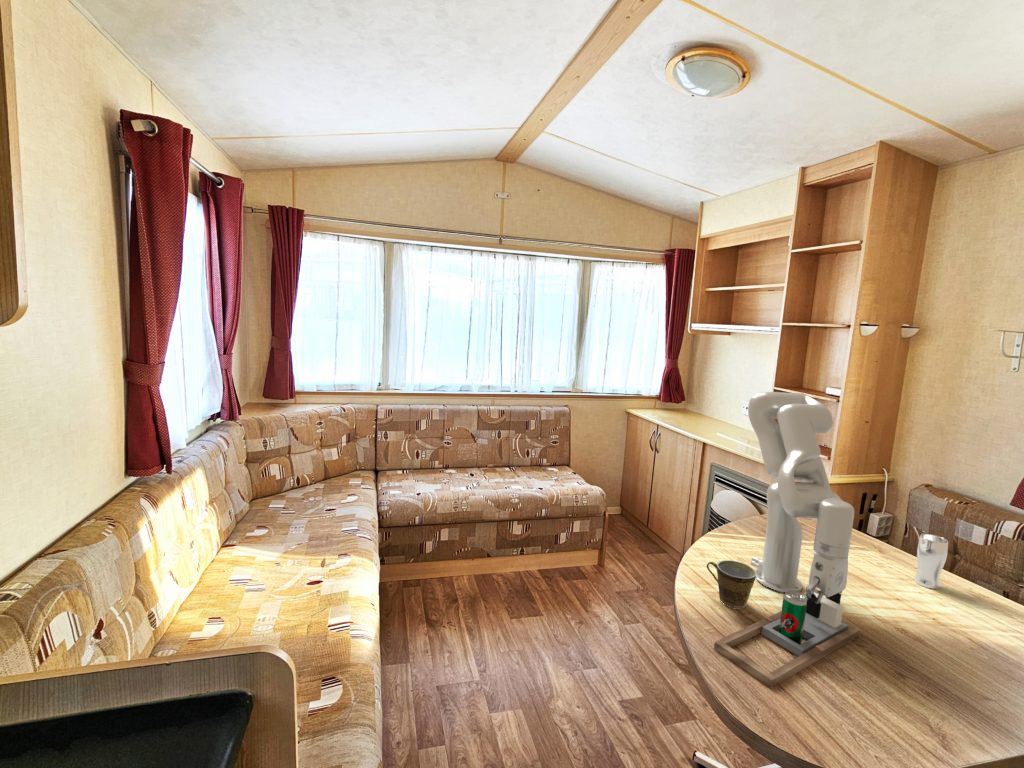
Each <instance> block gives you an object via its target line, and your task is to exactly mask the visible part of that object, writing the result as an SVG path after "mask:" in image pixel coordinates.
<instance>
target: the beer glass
mask: <svg viewBox="0 0 1024 768" xmlns="http://www.w3.org/2000/svg"><path fill="white" fill-rule="evenodd" d="M948 550H949V541H948V539H946V538H944V537H941V536H939V535H936V534H930V533H921V534H920V536H919V540H918V545H917V551H916V555H917V556H916V557H917V559H916V561H917V572H916V574H915V576H914V579H913V580H914V581H913V582H915V583H916V584H918V585H919V586H921V585H922V587H923V586H924V588H926V587H927V588H926V589H930V588H931V589H932V590H939V589H940V588H941V587H940V585H941V584H940V576H941V573H942V570H943V568H944V566H945V564H946V561H947V557H948V552H949V551H948Z"/></svg>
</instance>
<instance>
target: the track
mask: <svg viewBox="0 0 1024 768" xmlns="http://www.w3.org/2000/svg"><path fill="white" fill-rule="evenodd" d="M781 611H782V610H781ZM781 611H778V612H776V613H774V614H772V615H769V616H766V617H764V618H763V619H761V620H758V621H756V622H754V623H752V624H750V625H747V626H745V627H744V628H741V629H739V630H737V631H735V632H733V633H731V634H728V635H726V636H724V637H721V638H720V639H717V640H716V641H714V644H713V645H714V646H713V649H714V650H715V651H717V652H719V653H720V654H722V656H724V657H726V658H727V659H728V660H730V661H731V662H733V663H734V664H735V665H736V666H738V667H740V668H741V669H743V670H744V671H746V672H747V673H749V674H750V675H752V677H754V678H756V679H757V680H759V681H760V682H762V683H763V684H764V685H766V686H767V687H769V688H773V687H775V686H777V685H779V684H781V683H782V682H784V681H786V680H788V679H789V678H791V677H792V676H794V675H795V674H797V673H799V672H801V671H802V670H804V669H806V668H807V667H809V666H812V665H813V664H814V663H816V662H818V661H819V660H822V659H823V658H824V657H826V656H829V655H830V654H831V653H833V652H835V651H836V650H838V649H840V648H842V647H843V646H845V645H846V644H848V643H850V642H851V641H853V640H855V639H857V638H858V637H859V633H860V630H859V629H858V628H856V627H854V626H850V627H848V629H847V630H845V631H843V632H842V633H840V634H838V635H836V636H834V637H833V638H831V639H829V640H827V641H826V642H824V643H822V644H820V645H817V646H815V648H813V649H811V650H810V651H808V652H806V653H804V654H802V655H801V656H797V657H795V658H794V659H792V660H790V661H788V662H787V663H785V664H783V665H781V666H779V667H778V668H776V669H773V670H772V671H771V672H769V671H767V670H766V669H764V668H762V667H761V666H759V665H758V664H756V663H755V662H754V661H752V660H750V659H749V658H747V657H745V656H744V655H743V654H741V653H740V652H738V651H737V650H735V649H734V648H732V647H734V646H737V645H738V644H740V643H741V644H742V643H743V642H745V641H747V640H748V639H751V638H753V637H755V636H757V635H759V634H761V633H762V626H765V625H767V624H769V623H771V622H773V621H775V620H777V619H779V618H781Z"/></svg>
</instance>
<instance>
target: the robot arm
mask: <svg viewBox="0 0 1024 768" xmlns="http://www.w3.org/2000/svg"><path fill="white" fill-rule="evenodd" d="M747 413H748V418H749V422H750V425H751V427H752V429H753V430H754V432H755V435H756V437H757V440H758V443H759V447H760V452H761V456H762V460H763V464H764V468H765V470H766V473H767V475H768V476H769V477H771V478H773V479H776V480H777V481H775V482H773V483H772V484H770V485H769V486H768V487H767V490H766V504H767V505H766V506H767V518H766V519H767V520H766V529H765V530H766V531H765V538H764V545H763V554H762V559H760V558H759V557H757V556H752V558H751V562H750V565H751V566H753V567H755V568H757V570H755V572H756V578H755V580H756V579H757V580H758V581H759V582H760V583H761V584H760V583H759V582H758V581H757V580H756V581H757V582H758V583H759V584H760V585H762V584H763V585H764V586H763V585H762V586H763V587H765V586H766V587H765V588H767V587H769V588H771V589H770V590H772V589H774V590H773V591H775V590H777V591H776V592H778V591H781V592H780V593H783V592H785V593H786V592H788V591H792V592H797V593H800V592H801V591H802V589H803V583H802V581H801V580H800V579H798V575H799V574H798V573H799V566H800V558H801V550H802V543H803V535H804V533H803V532H804V531H803V527H802V524H800V521H799V520H798V518H802V519H803V518H804V519H806V518H807V519H817V520H816V526H815V527H816V528H815V534H814V542H813V547H812V550H813V552H814V554H813V558H812V562H811V567H810V570H809V571H810V572H809V576H808V577H809V578H808V584H807V586H805V593H806V596H807V597H806V598H807V607H806V613H807V614H809V615H811V616H813V617H815V618H819V617H820V610H821V603H820V601H821V599H822V597H825V598H827V599H829V600H831V601H833V602H835V603H837V604H839V605H841V598H842V593H843V591H844V590H846V588H847V582H848V571H849V570H848V568H849V555H850V554H849V553H850V546H851V540H852V532H853V526H854V519H855V508H854V506H853V505H852V504H850V503H849V502H846V501H844V500H842V498H841V497H840V496H839V495H838V494H837V493H836V492H834V491H832V489H831V486H830V482H829V479H828V478H829V477H828V475H827V472H826V468H825V465H824V462H823V461H822V458H821V452H822V451H821V447H820V443H819V442H818V438H817V434H825V433H828V432H830V430H831V429H832V427H833V424H834V419H833V418H834V417H833V416H832V413H831V411H830V410H829V408H828V407H827V406H826V405H824V404H823V403H822V402H820V401H818V400H816V399H814V397H812V396H811V395H807V394H805V393H800V392H784V391H783V392H780V391H761V392H757V393H755V394H754V395H752V396H751V398H750V399H749V401H748V406H747ZM775 419H777V421H776V420H775ZM769 588H768V589H769ZM814 592H815V593H817V594H819V595H818V597H816V596H815V594H814ZM785 593H784V594H785Z"/></svg>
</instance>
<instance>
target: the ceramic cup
mask: <svg viewBox="0 0 1024 768" xmlns="http://www.w3.org/2000/svg"><path fill="white" fill-rule="evenodd" d="M709 565H712V566H713V567H714V568H715V569H716V574H717V576H716V575H715V574H714V573H713V571H712V570H711V569H710V568H709ZM706 569H707V570H708V572H709V573H710V574H711V576H712V577H713V578H714V580H715V581H716V582H717V584H718V595H719V596H718V598H720V599H719V600H720V602H721V601H722V602H723V603H724V604H726V605H728V606H730V607H729V608H731V607H732V608H731V609H733V608H740V609H739V610H744V608H745V607H746V605H747V604H748V600H749V599H750V598H749V597H750V595H751V591H752V589H753V586H754V584H755V581H756V570H755V569H754V568H753V567H752V566H750V565H748V564H746V563H743V562H740V561H736V560H728V559H727V560H721V561H718V562H717V563H716V562H713V561H709V562H708V563H707V564H706ZM722 602H721V603H722ZM723 603H722V604H723ZM724 604H723V605H724ZM726 605H725V606H726ZM728 606H727V607H728Z"/></svg>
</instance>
